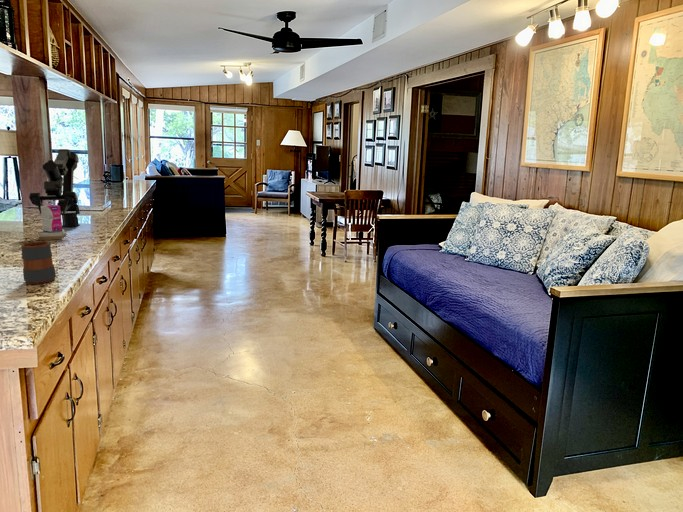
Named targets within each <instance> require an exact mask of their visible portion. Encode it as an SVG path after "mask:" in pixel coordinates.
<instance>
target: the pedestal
mask: <svg viewBox="0 0 683 512" xmlns="http://www.w3.org/2000/svg"><path fill="white" fill-rule="evenodd" d="M39 235H40V236H38V240H41V241H53V240H52V239H62V238H64V237H65V236H66V235H67V236H68V234H67V232H66V230H65V229H62V231H59V232H52V233H48V232H43V231H41V232H40V233H39ZM67 236H66V237H67ZM66 237H65V238H66ZM65 238H64V239H65ZM62 240H63V239H62Z"/></svg>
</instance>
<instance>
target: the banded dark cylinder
mask: <svg viewBox="0 0 683 512" xmlns="http://www.w3.org/2000/svg"><path fill="white" fill-rule="evenodd" d="M20 249H21V259H22V263H23V268H22V273H23V275H22V276H23V281H25V284H28V285H41V284H47V283H52V282H53V281H55V280H56V277H57V274H56V273H57V272H56V269H55V265H54V262H53V252H52V248H51V244H50V242H49V241H34V242H26V243H23V244H21V248H20Z"/></svg>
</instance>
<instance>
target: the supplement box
mask: <svg viewBox="0 0 683 512" xmlns="http://www.w3.org/2000/svg"><path fill="white" fill-rule="evenodd" d="M41 224H42V232H48V233H52V232H59V231H62V230H63V227H62V226H63V221H62V215H61V211H60V206H57V204H49V205H43V206H41Z"/></svg>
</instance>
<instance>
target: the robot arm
mask: <svg viewBox="0 0 683 512" xmlns="http://www.w3.org/2000/svg"><path fill="white" fill-rule="evenodd" d="M79 159H80V158H79V156H78V154H77V153H76V152H73V151H71V150H70V149H67V148H66V149H64V148H63V149H61V148H60V149H58V150H57V154H56V157H55V159H54V160H50V159H48V160H47V162H45V163H43V164H42V169H43V172H44V174H45V176H46V179H48V180H47V181H43V189H44V190H45V194H46V195H43V194H42V195H41V193H40V192H30V193H29V194H28V195H29V196H28V198H29V200H30V202H31V205H34V206H36V207H37V208H38V210H39V214H41V206H44V205H43V202H44V201H58V202H57V203H56V205H57V206H60V211H61V221H62V228H74V226H75V227H78V226H81V223H79V218H78V215H80V214H81V211H80V207H79V205H78V202H79V201H78V200H79V197H78V196H77V193H76V192H75V191H74V171H75V170H76V169H77V168H78V163H79V162H80V161H79Z"/></svg>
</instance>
